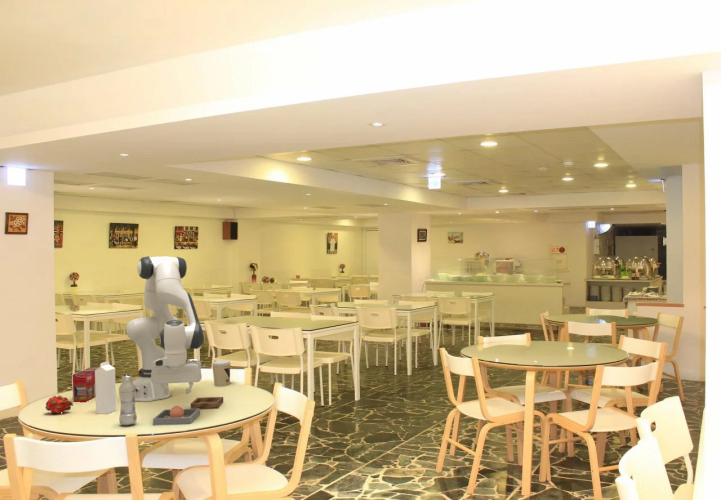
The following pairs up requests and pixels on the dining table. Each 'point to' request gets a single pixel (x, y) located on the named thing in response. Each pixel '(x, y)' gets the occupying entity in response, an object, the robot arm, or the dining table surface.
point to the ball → (177, 412)
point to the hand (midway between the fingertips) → (177, 393)
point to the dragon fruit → (58, 404)
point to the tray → (206, 403)
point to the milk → (105, 389)
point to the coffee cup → (221, 373)
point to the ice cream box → (84, 385)
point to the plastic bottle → (127, 401)
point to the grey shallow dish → (170, 421)
